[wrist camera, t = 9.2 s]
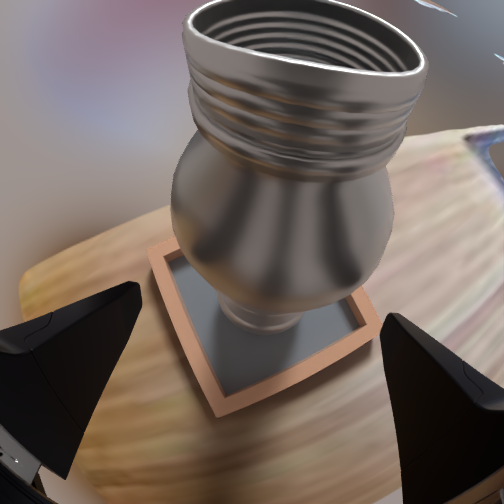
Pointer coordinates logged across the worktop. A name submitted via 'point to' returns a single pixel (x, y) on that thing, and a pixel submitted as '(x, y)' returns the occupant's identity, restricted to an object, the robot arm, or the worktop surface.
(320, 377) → the worktop surface
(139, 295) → the robot arm
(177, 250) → the tray
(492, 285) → the worktop surface
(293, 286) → the silver tall hollow piece
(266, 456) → the worktop surface
